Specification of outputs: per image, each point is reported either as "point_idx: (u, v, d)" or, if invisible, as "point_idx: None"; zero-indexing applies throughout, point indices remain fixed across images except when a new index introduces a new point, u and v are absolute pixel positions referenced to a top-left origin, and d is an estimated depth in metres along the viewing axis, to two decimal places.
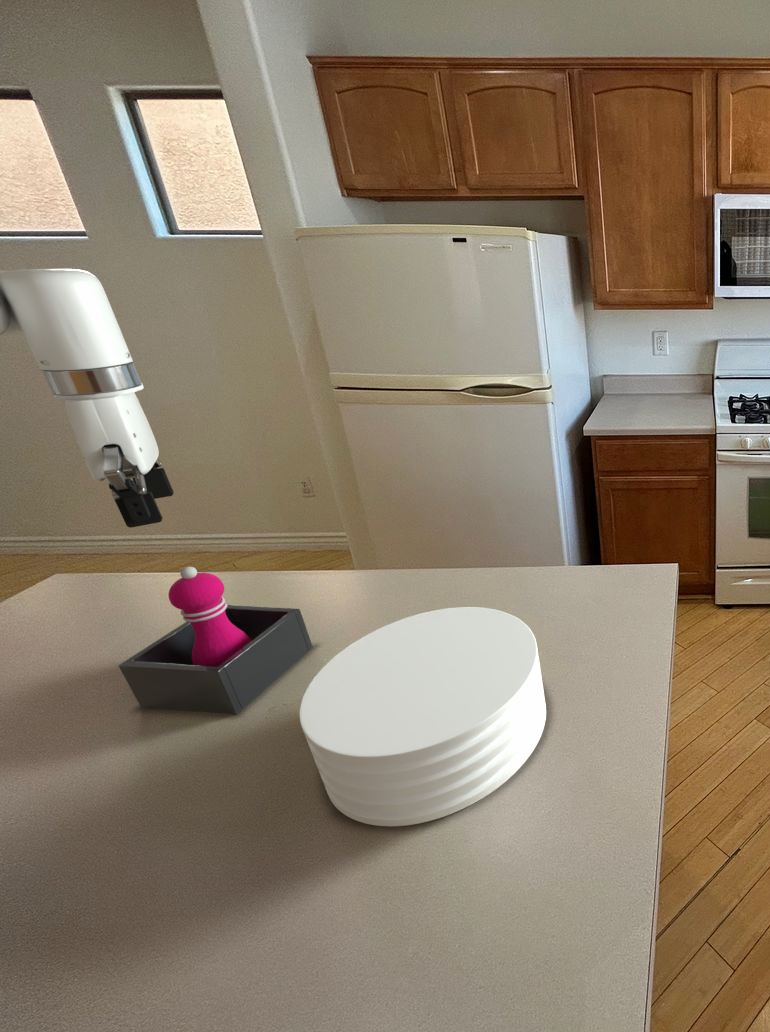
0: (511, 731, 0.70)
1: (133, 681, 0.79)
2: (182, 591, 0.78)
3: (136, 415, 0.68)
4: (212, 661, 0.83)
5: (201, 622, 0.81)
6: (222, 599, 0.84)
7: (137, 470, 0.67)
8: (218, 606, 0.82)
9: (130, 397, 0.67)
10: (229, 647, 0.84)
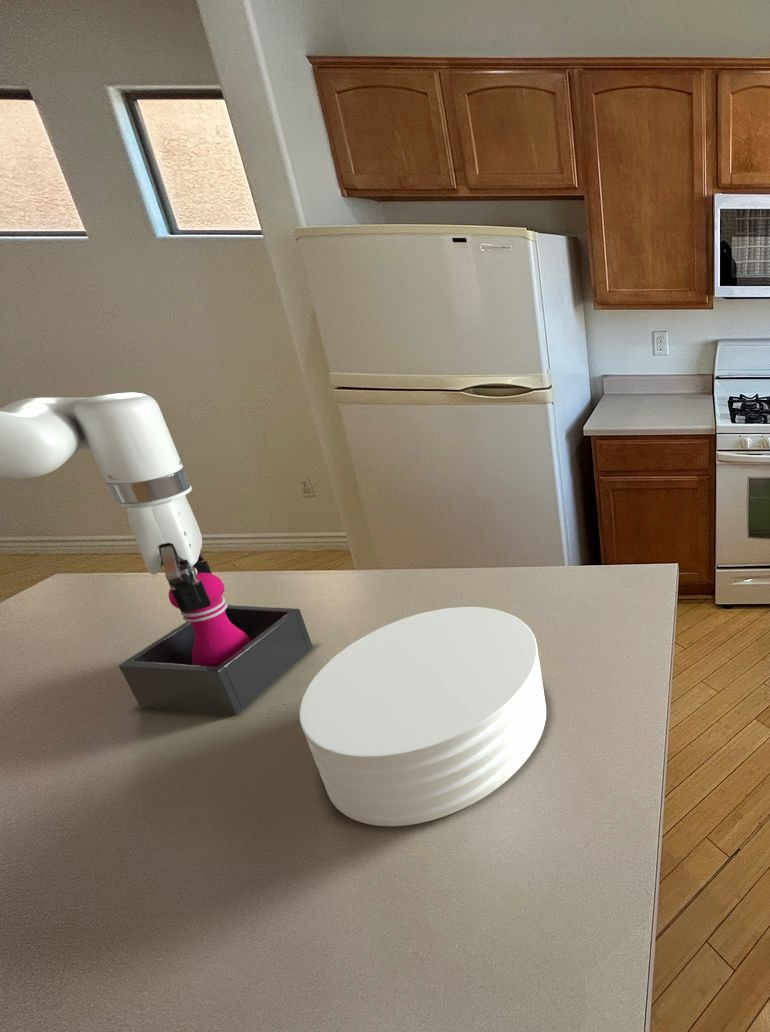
0: (511, 731, 0.70)
1: (133, 681, 0.79)
2: None
3: (185, 514, 0.76)
4: (212, 661, 0.82)
5: (201, 622, 0.81)
6: (222, 599, 0.84)
7: (189, 565, 0.77)
8: (218, 606, 0.82)
9: (180, 499, 0.76)
10: (229, 647, 0.84)
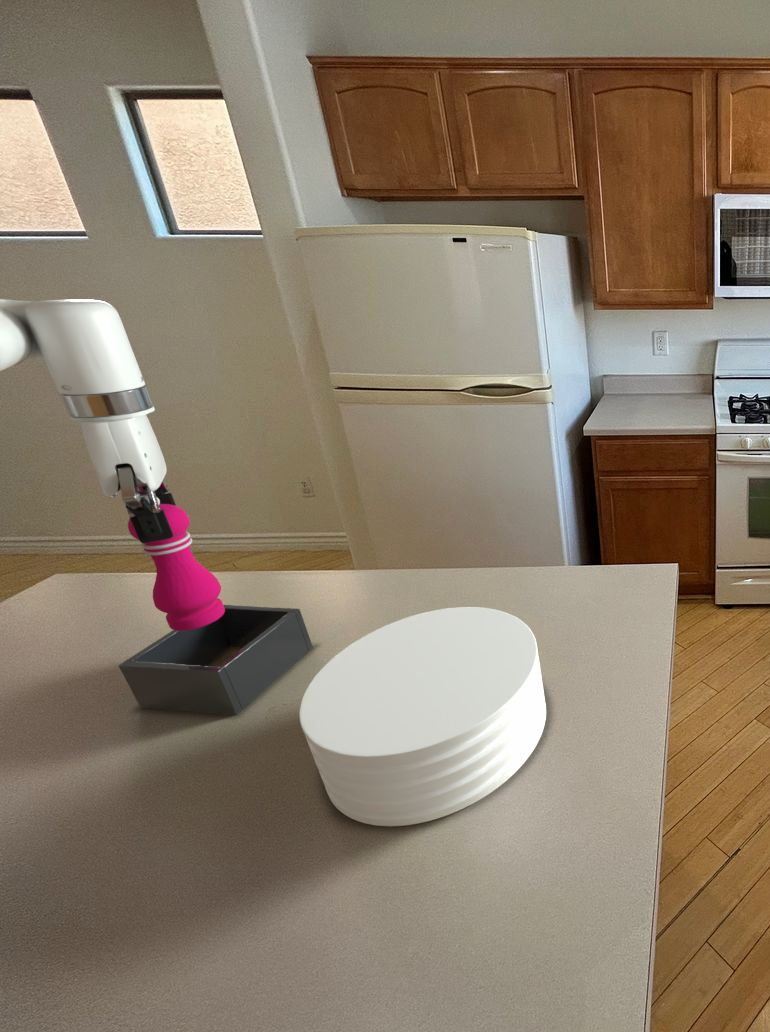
0: (511, 731, 0.70)
1: (133, 681, 0.79)
2: None
3: (147, 435, 0.72)
4: (174, 598, 0.77)
5: (163, 556, 0.76)
6: (187, 534, 0.79)
7: (150, 490, 0.72)
8: (182, 540, 0.77)
9: (142, 419, 0.71)
10: (193, 585, 0.79)
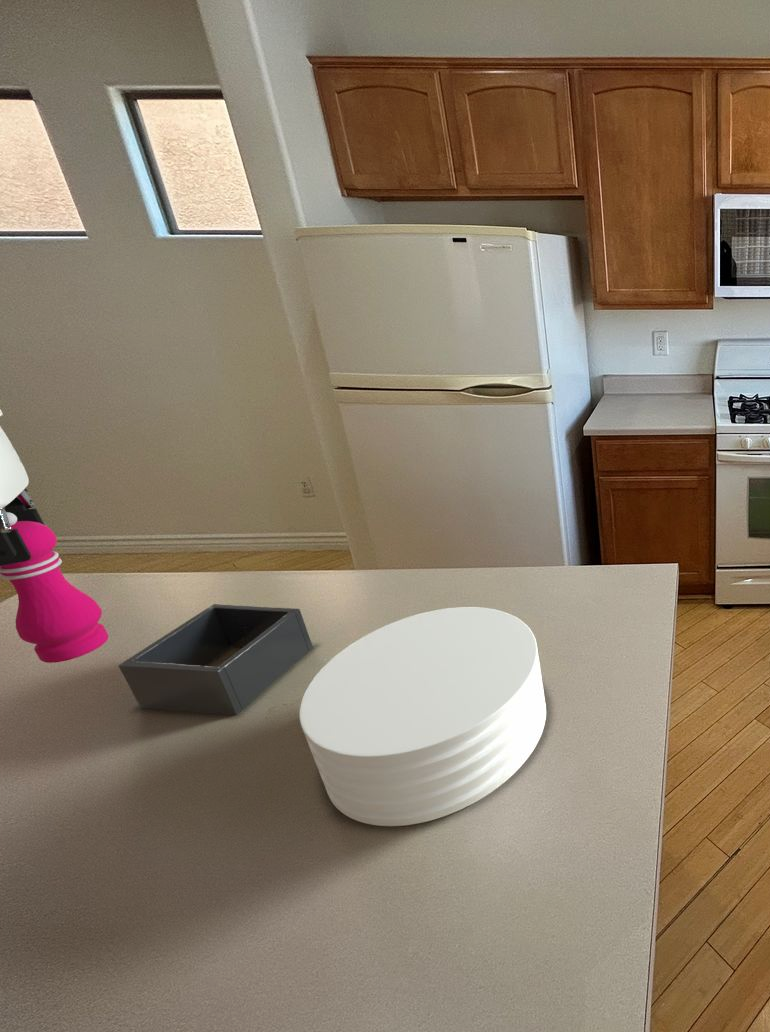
0: (511, 731, 0.70)
1: (133, 681, 0.79)
2: None
3: None
4: (38, 627, 0.69)
5: (23, 580, 0.67)
6: (54, 554, 0.70)
7: None
8: (46, 561, 0.68)
9: None
10: (62, 612, 0.70)
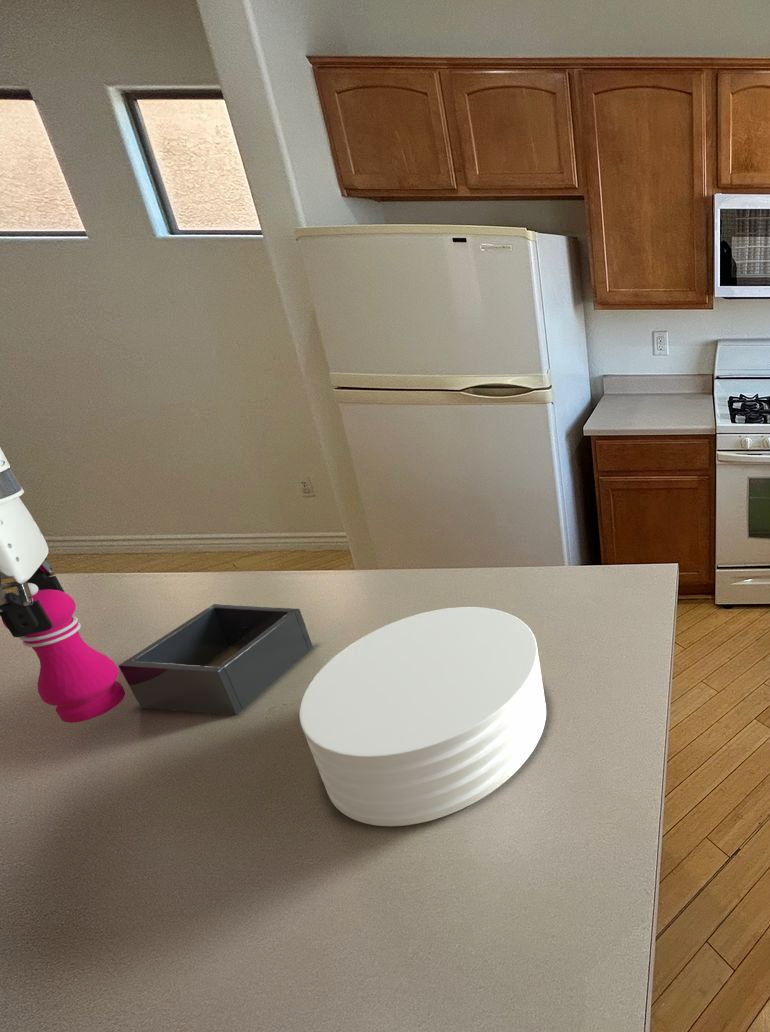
0: (511, 731, 0.70)
1: (133, 681, 0.79)
2: None
3: (14, 522, 0.65)
4: (59, 691, 0.71)
5: (44, 647, 0.70)
6: (74, 619, 0.73)
7: None
8: (66, 628, 0.71)
9: (7, 505, 0.65)
10: (82, 675, 0.73)
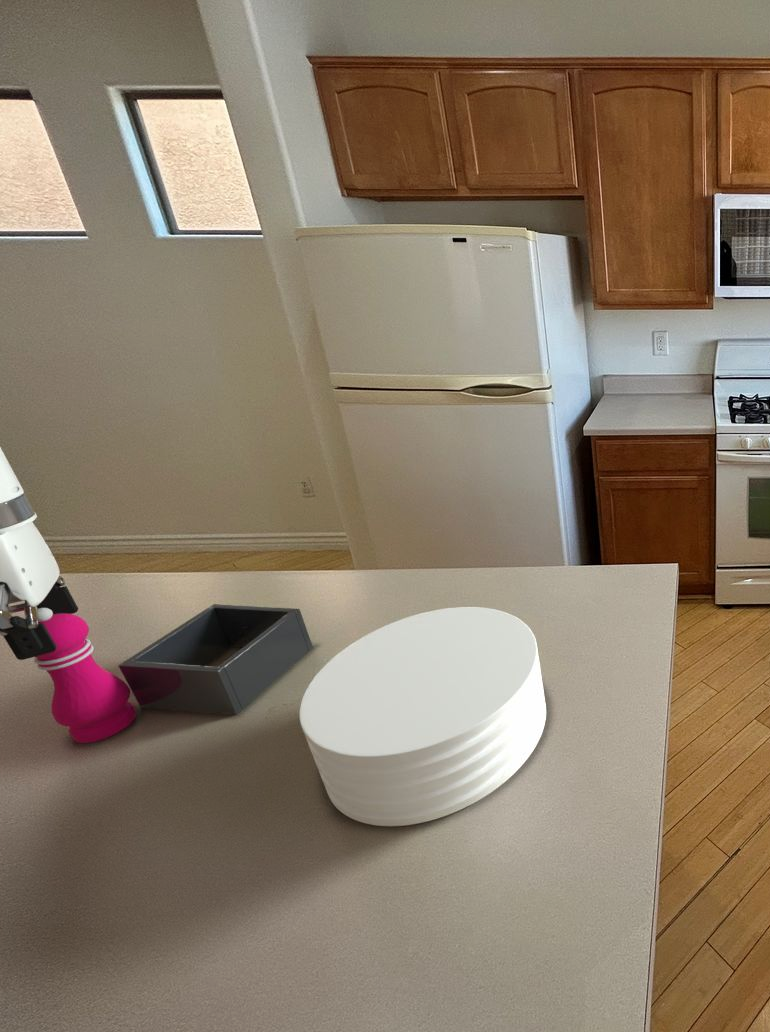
0: (511, 731, 0.70)
1: (133, 681, 0.79)
2: None
3: (27, 547, 0.67)
4: (73, 713, 0.73)
5: (58, 670, 0.72)
6: (87, 642, 0.74)
7: (27, 603, 0.66)
8: (79, 651, 0.73)
9: (20, 529, 0.66)
10: (94, 697, 0.74)
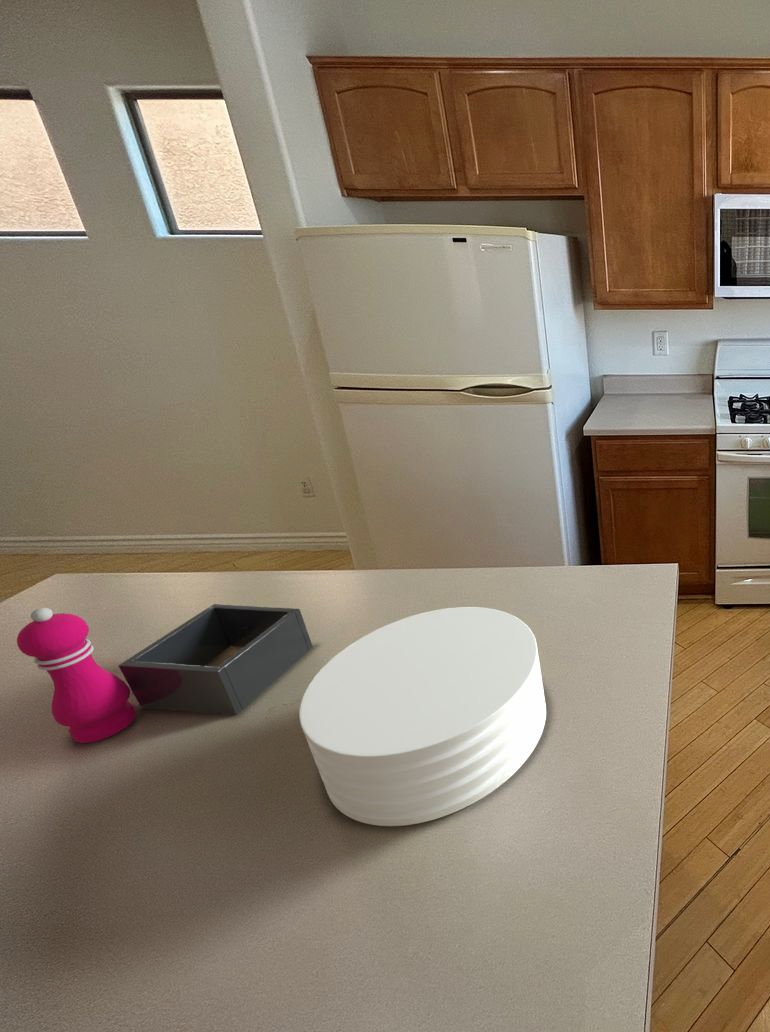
0: (511, 731, 0.70)
1: (133, 681, 0.79)
2: (30, 636, 0.69)
3: None
4: (73, 713, 0.73)
5: (58, 670, 0.72)
6: (87, 642, 0.74)
7: None
8: (79, 651, 0.73)
9: None
10: (94, 697, 0.74)
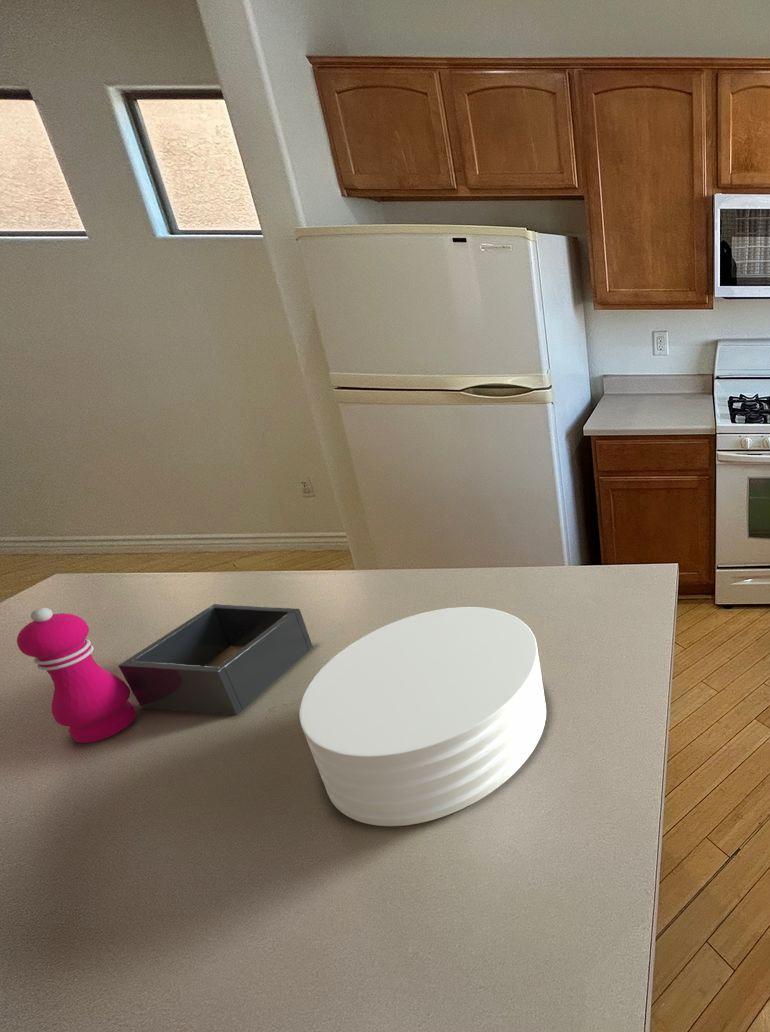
0: (511, 731, 0.70)
1: (133, 681, 0.79)
2: (30, 636, 0.69)
3: None
4: (73, 713, 0.73)
5: (58, 670, 0.72)
6: (87, 642, 0.74)
7: None
8: (79, 651, 0.73)
9: None
10: (94, 697, 0.74)
